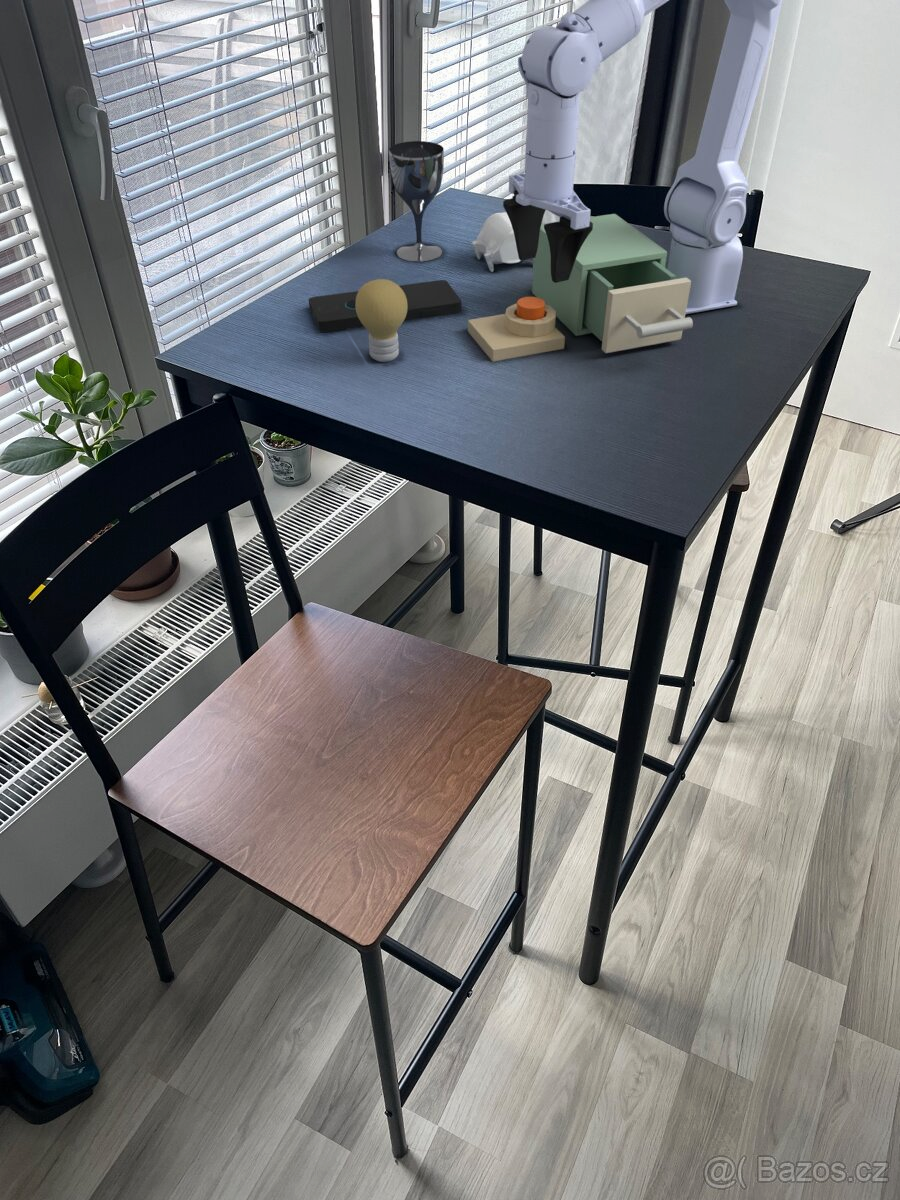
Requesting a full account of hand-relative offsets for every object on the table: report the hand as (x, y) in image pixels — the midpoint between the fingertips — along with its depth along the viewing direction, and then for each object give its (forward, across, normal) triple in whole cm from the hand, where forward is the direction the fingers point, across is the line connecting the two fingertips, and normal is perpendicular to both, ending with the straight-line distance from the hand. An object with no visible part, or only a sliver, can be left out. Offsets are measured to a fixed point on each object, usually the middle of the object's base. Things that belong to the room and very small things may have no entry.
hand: (543, 269), depth 113 cm
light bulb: (+10, -6, -19) cm, 23 cm away
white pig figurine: (+10, -25, +13) cm, 30 cm away
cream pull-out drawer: (+9, +4, +11) cm, 15 cm away
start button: (+7, -2, 0) cm, 7 cm away
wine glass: (+10, -35, 0) cm, 36 cm away
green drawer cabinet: (+10, -6, +12) cm, 17 cm away
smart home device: (+10, -19, -13) cm, 25 cm away
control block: (+10, -2, -2) cm, 10 cm away
